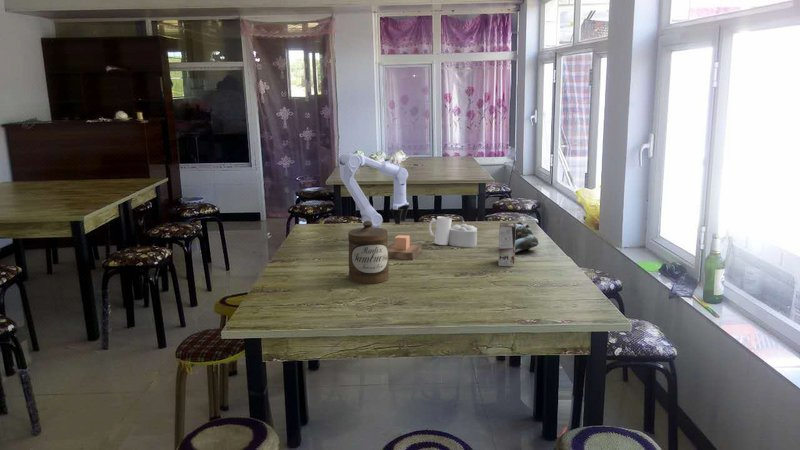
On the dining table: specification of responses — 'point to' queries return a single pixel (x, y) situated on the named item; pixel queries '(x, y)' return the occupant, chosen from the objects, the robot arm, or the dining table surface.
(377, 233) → the wooden container
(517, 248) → the lucky cat figurine
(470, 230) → the lumpy-topped squat cylinder
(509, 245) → the coffee box
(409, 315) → the dining table surface
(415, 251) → the walnut base
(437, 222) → the mug
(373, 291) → the dining table surface
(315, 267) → the dining table surface
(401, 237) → the terracotta cube
